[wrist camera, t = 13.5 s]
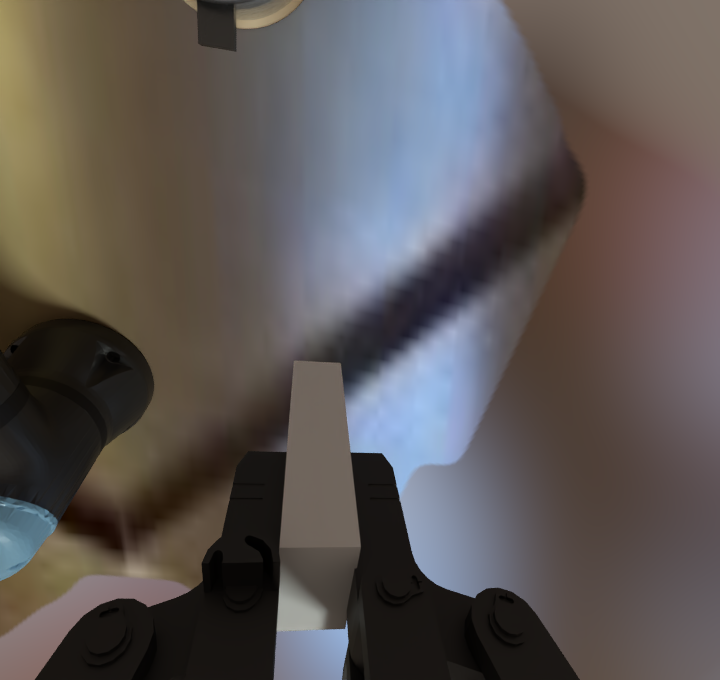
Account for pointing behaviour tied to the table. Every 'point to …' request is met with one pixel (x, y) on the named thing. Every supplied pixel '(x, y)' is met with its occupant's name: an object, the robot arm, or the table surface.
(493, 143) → the table surface
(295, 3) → the trivet
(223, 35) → the pot
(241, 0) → the lid
